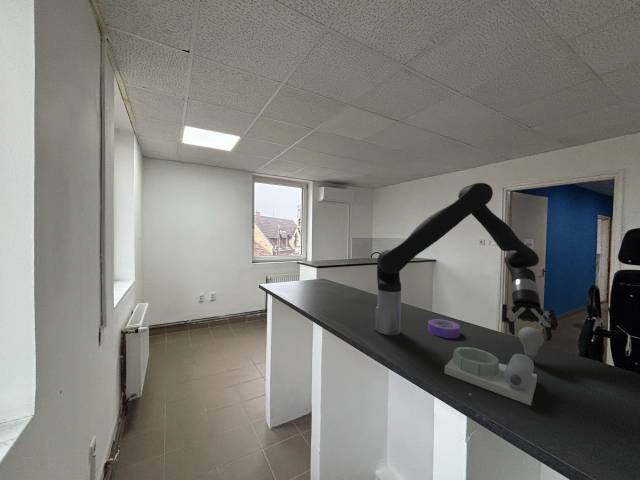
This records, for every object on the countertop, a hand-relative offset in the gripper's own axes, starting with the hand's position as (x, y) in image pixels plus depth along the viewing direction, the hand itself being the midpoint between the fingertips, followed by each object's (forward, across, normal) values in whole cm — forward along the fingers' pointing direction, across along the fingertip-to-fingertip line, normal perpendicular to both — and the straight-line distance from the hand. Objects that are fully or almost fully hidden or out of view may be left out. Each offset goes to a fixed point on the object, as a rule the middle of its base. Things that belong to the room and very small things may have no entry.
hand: (530, 336), depth 80 cm
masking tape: (-2, -26, +13) cm, 29 cm away
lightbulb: (+6, 0, +4) cm, 8 cm away
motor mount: (+19, -11, -8) cm, 24 cm away
